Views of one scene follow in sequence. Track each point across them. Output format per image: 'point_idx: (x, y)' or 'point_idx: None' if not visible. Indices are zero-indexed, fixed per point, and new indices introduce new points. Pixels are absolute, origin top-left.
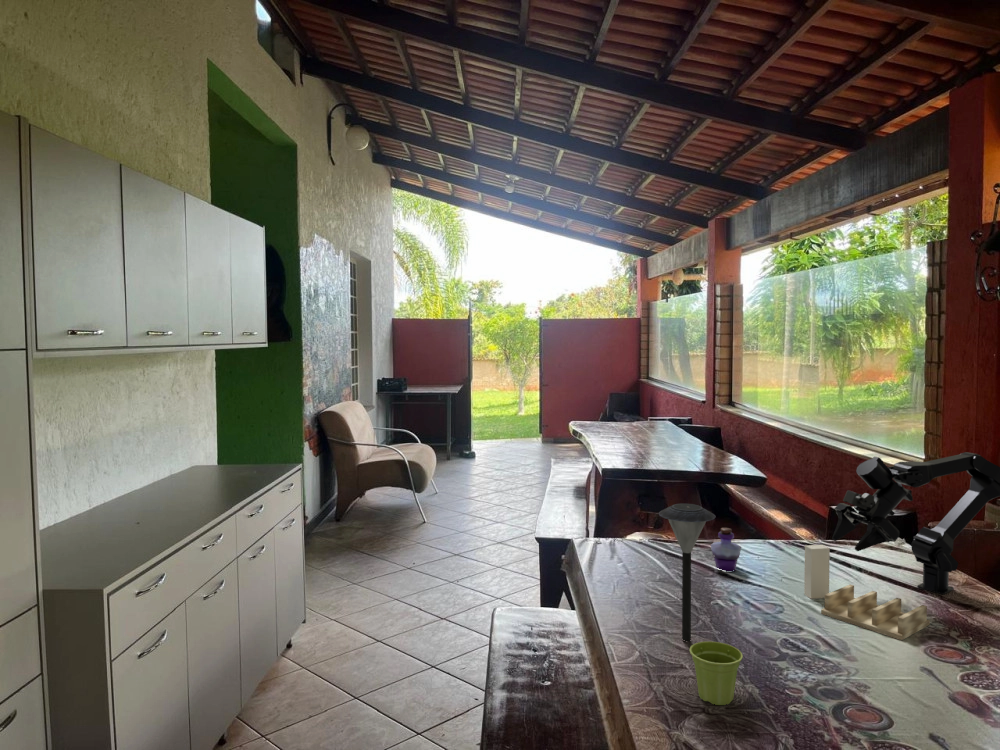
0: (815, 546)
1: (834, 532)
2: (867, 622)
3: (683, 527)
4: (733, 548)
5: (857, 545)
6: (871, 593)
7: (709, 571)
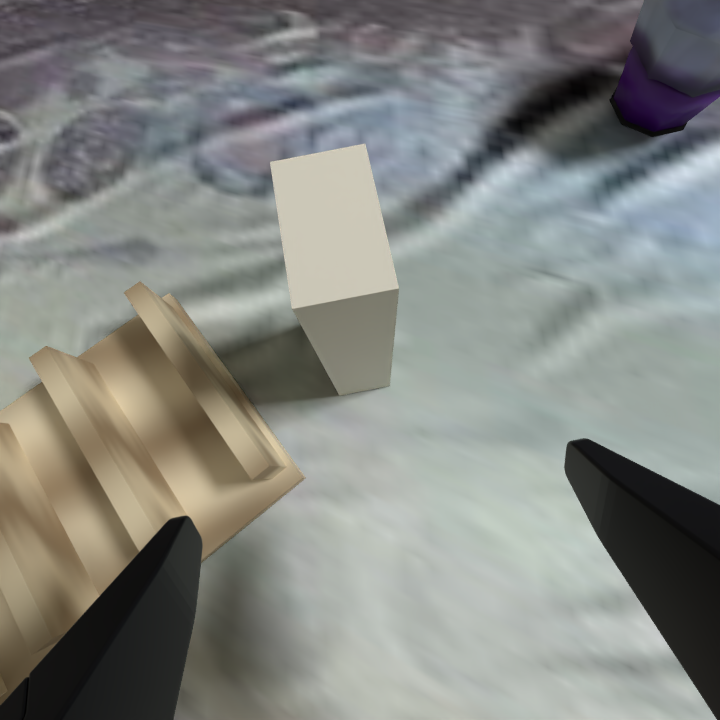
0: (343, 213)
1: (647, 474)
2: (28, 415)
3: None
4: (681, 5)
5: (145, 547)
6: (129, 518)
7: (608, 49)
